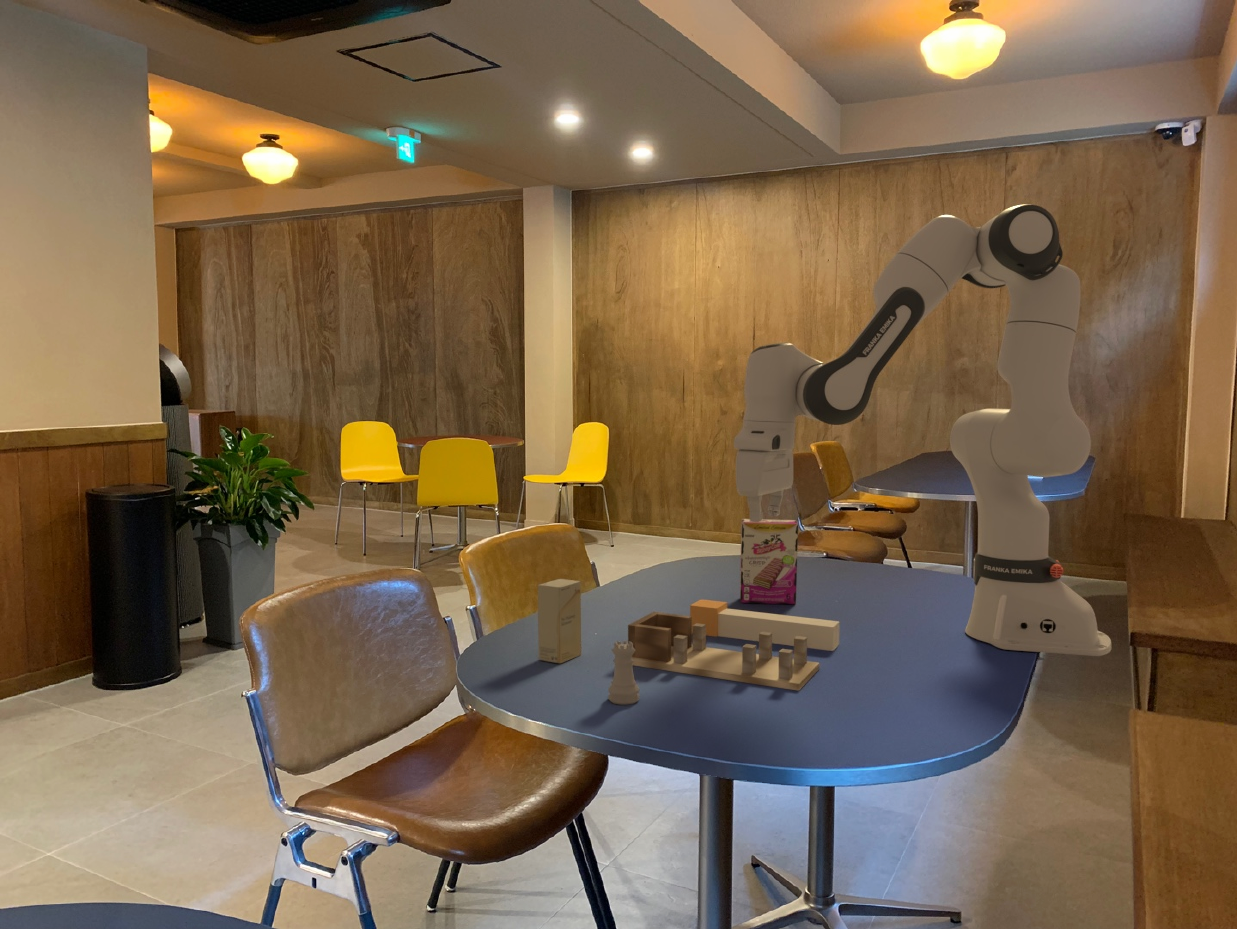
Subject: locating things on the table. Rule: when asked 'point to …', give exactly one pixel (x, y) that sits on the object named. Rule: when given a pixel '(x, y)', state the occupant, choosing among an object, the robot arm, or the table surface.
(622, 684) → the rook chess piece
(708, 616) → the orange tipped beige bar
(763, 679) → the rail
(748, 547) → the candy bar box
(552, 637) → the skincare box
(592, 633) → the table surface
